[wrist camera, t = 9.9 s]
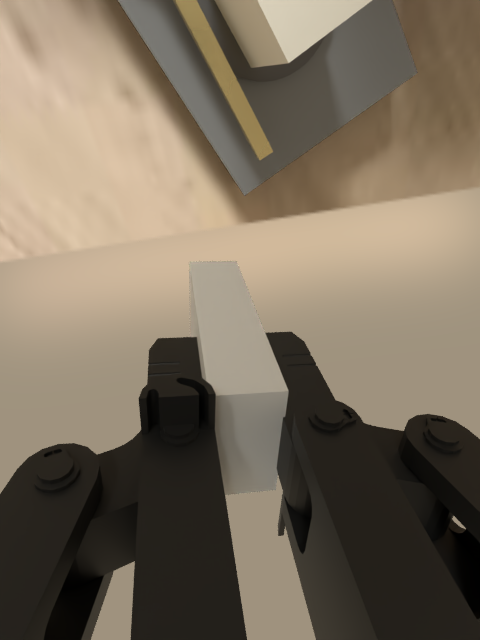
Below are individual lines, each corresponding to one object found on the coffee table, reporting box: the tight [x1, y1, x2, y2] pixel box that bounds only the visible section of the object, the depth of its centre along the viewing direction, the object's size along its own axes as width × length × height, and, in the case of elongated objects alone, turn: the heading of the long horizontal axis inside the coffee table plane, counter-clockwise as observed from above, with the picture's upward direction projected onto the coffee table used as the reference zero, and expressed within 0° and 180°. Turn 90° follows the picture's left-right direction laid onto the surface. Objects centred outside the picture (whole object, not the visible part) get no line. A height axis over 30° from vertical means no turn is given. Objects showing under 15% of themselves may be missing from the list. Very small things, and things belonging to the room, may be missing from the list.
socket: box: [117, 0, 418, 196], centre depth 26 cm, size 18×14×5 cm
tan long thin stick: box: [173, 0, 273, 160], centre depth 24 cm, size 15×2×1 cm, turn 31°
